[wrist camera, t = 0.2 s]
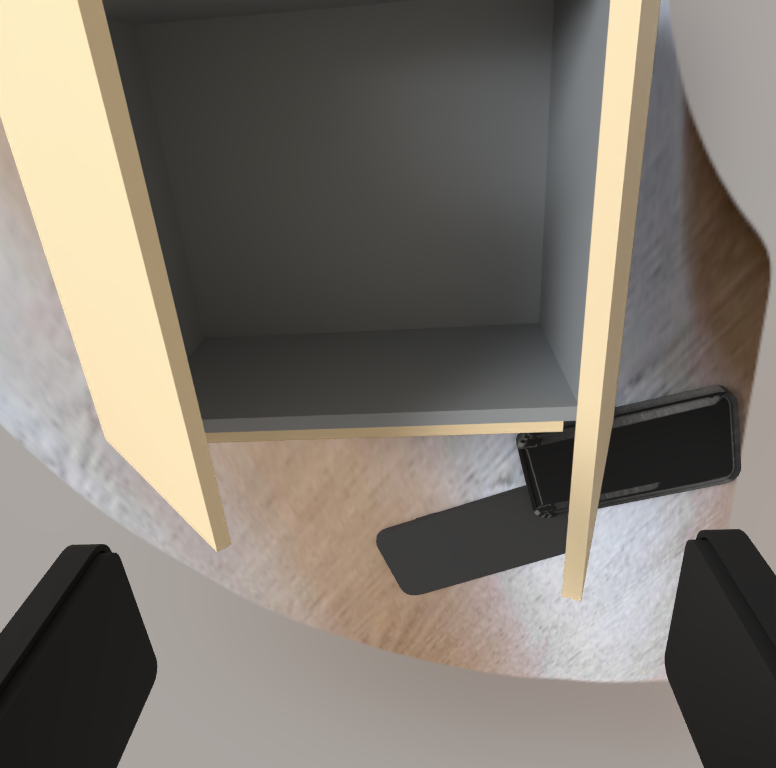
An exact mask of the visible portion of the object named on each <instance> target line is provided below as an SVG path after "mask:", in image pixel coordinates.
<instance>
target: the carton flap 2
mask: <svg viewBox="0 0 776 768" xmlns="http://www.w3.org/2000/svg"><path fill="white" fill-rule="evenodd" d="M660 2H661V0H610V11H609V23H608V36H607V48H606V60H605V73H604V85H603V97H602V110H601V122H600V134H599V146H598V159H597V171H596V183H595V196H594V208H593V220H592V233H591V245H590V257H589V270H588V282H587V294H586V306H585V319H584V331H583V343H582V356H581V368H580V380H579V393H578V405H577V417H576V430H575V442H574V454H573V466H572V479H571V491H570V503H569V516H568V528H567V540H566V553H565V565H564V577H563V590H562V597H566V598H570V599H574V600H579V601H581V599H582V593H583V588H584V582H585V576H586V571H587V565H588V560H589V554H590V548H591V543H592V537H593V531H594V526H595V520H596V515H597V509H598V503H599V498H600V492H601V486H602V481H603V475H604V470H605V464H606V458H607V453H608V447H609V441H610V436H611V430H612V425H613V418H614V409H615V401H616V392H617V383H618V374H619V365H620V356H621V347H622V339H623V330H624V321H625V312H626V303H627V294H628V285H629V277H630V268H631V259H632V250H633V241H634V232H635V223H636V215H637V206H638V197H639V188H640V179H641V170H642V161H643V152H644V144H645V135H646V126H647V117H648V108H649V99H650V90H651V82H652V73H653V64H654V55H655V46H656V37H657V28H658V20H659V11H660Z"/></svg>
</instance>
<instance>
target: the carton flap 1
mask: <svg viewBox="0 0 776 768" xmlns="http://www.w3.org/2000/svg"><path fill="white" fill-rule="evenodd" d="M0 116H1V119H2V122H3V126H4V129H5V132H6V135H7V138H8V141H9V144H10V147H11V150H12V153H13V156H14V159H15V162H16V165H17V169H18V172H19V175H20V178H21V181H22V184H23V187H24V190H25V193H26V196H27V199H28V202H29V205H30V208H31V212H32V215H33V218H34V221H35V224H36V227H37V230H38V233H39V236H40V239H41V242H42V245H43V248H44V251H45V254H46V258H47V261H48V264H49V267H50V270H51V273H52V276H53V279H54V282H55V285H56V288H57V291H58V294H59V297H60V301H61V304H62V307H63V310H64V313H65V316H66V319H67V322H68V325H69V328H70V331H71V334H72V337H73V340H74V344H75V347H76V350H77V353H78V356H79V359H80V362H81V365H82V368H83V371H84V374H85V377H86V380H87V383H88V387H89V390H90V393H91V396H92V399H93V402H94V405H95V408H96V411H97V414H98V417H99V420H100V423H101V426H102V430H103V433H104V436H105V439H106V440H107V441H108V442H109V443H110V444H111V445H112V446H113V447H114V448H115V449H116V450H117V451H118V452H119V453H120V454H121V455H122V456H123V457H124V458H125V459H126V460H127V461H128V462H129V463H130V464H131V465H132V466H133V467H134V468H135V469H136V470H137V471H138V472H139V473H140V474H141V475H142V477H143V478H144V479H145V480H146V481H147V482H148V483H149V484H150V485H151V486H152V487H153V488H154V489H155V490H156V491H157V492H158V493H159V494H160V495H161V496H162V497H163V498H164V499H165V500H166V501H167V502H168V503H169V504H170V505H171V506H172V507H173V508H174V509H175V510H176V511H177V512H178V513H179V514H180V515H181V516H182V517H183V518H184V519H185V520H186V521H187V522H188V523H189V524H190V525H191V526H192V527H193V528H194V529H195V530H196V531H197V532H198V533H199V534H200V535H201V536H202V537H203V538H204V539H205V540H206V541H207V542H208V543H209V544H210V545H211V546H212V547H213V548H214V549H215V550H216V551H217V552H219V551H220V550H222V549H224V548H226V547H228V546H229V545H231V540H230V536H229V532H228V527H227V523H226V519H225V515H224V511H223V506H222V502H221V498H220V494H219V490H218V485H217V481H216V477H215V473H214V469H213V464H212V460H211V456H210V452H209V448H208V443H207V439H206V435H205V431H204V427H203V422H202V418H201V414H200V410H199V406H198V401H197V397H196V393H195V389H194V385H193V380H192V376H191V372H190V368H189V364H188V359H187V355H186V351H185V347H184V343H183V338H182V334H181V330H180V326H179V322H178V317H177V313H176V309H175V305H174V301H173V296H172V292H171V288H170V284H169V280H168V275H167V271H166V267H165V263H164V259H163V254H162V250H161V246H160V242H159V238H158V233H157V229H156V225H155V221H154V217H153V212H152V208H151V204H150V200H149V196H148V191H147V187H146V183H145V179H144V175H143V170H142V166H141V162H140V158H139V154H138V149H137V145H136V141H135V137H134V133H133V128H132V124H131V120H130V116H129V112H128V107H127V103H126V99H125V95H124V91H123V86H122V82H121V78H120V74H119V70H118V65H117V61H116V57H115V53H114V49H113V44H112V40H111V36H110V32H109V28H108V24H107V19H106V15H105V11H104V7H103V3H102V0H0Z"/></svg>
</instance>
